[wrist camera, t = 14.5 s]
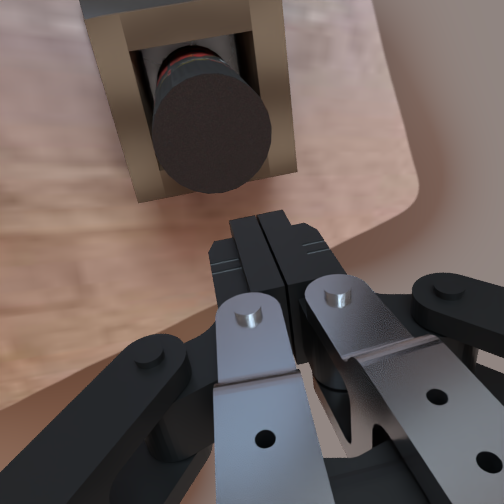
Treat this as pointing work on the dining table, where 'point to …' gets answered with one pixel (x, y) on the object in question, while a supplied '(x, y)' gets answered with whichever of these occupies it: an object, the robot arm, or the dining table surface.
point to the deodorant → (207, 122)
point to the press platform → (158, 54)
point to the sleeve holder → (177, 31)
